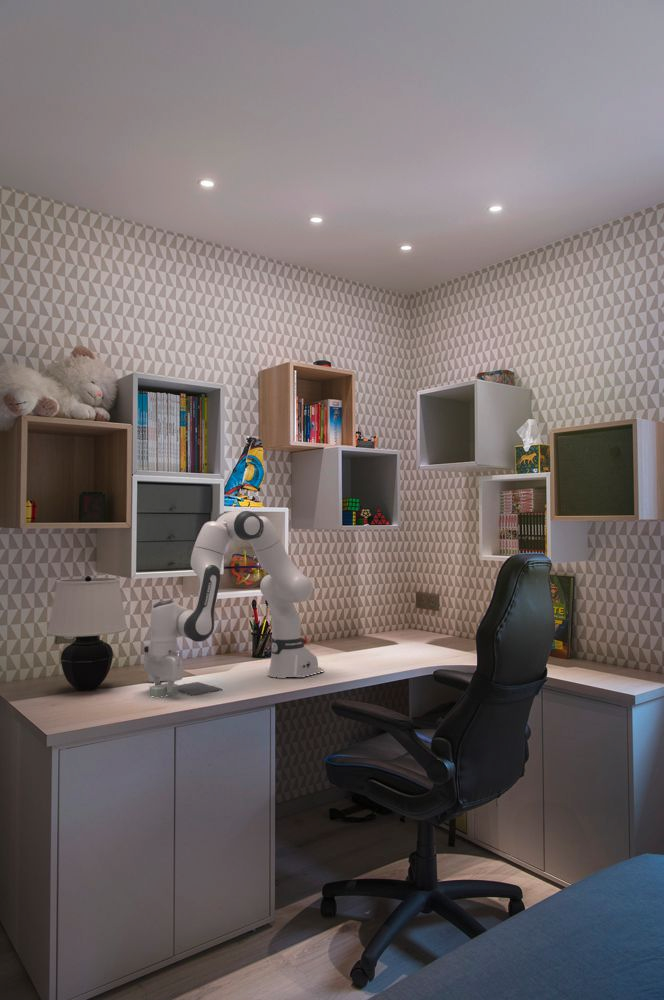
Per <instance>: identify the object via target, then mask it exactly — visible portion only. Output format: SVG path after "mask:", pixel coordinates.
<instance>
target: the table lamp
mask: <svg viewBox="0 0 664 1000" xmlns="http://www.w3.org/2000/svg"><path fill="white" fill-rule="evenodd" d="M50 613H51V614H50V618H49V622H48V623H49V624H48V628H47V630H46V633H47V635H49V636H55V637H68V638H69V637H76V638H75V640H74V641H72V642H71V643H70V644H68V646H65V647H64V649H63V650H62V652H61V654H60V655H61V656H60V662H61V669H62V672H63V675H64V678H65V680H66V681H67V682H68V683H69V684H70V685H71V686H72V687H73V688H75V689H76V690H78V691H85V692H86V691H92V690H93V691H94V690H95V689H97V688H98V687H99V686H100V685H101V684H102V683H103V682H104V681H105V679H106V678H107V676H109V675H108V674H109V672H110V670H111V666H112V663H113V659H114V658H113V657H114V651H113V649H112V648H113V647H112V646H111V645H110V644H109V643H107V642H105V641H104V640H102V639H100V636H105V635H114V634H119V633H122V632H126V631H127V630H128V626H127V620H126V615H125V609H124V604H123V599H122V592H121V587H120V578H114V577H92V576H91V575H87V576H85V577H83V578H82V577H81V578H77V577H76V578H64V579H58V580H56V587H55V591H54V597H53V602H52V607H51V612H50Z"/></svg>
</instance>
